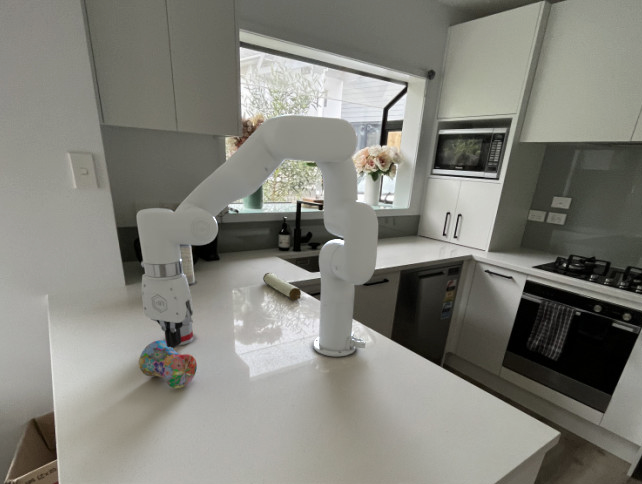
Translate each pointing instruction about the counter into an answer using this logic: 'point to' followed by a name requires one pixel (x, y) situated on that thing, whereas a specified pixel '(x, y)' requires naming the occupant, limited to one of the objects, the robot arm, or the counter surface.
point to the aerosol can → (187, 263)
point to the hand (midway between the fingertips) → (174, 344)
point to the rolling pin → (282, 286)
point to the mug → (167, 364)
